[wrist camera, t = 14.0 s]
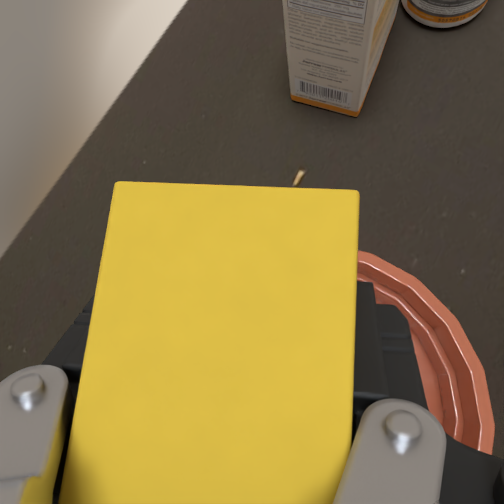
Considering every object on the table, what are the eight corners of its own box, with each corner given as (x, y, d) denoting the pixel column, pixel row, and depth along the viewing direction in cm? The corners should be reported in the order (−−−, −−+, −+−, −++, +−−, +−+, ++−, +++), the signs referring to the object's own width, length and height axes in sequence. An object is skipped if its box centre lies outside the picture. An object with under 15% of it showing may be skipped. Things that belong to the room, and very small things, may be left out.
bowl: (126, 383, 27) (85, 384, 22) (322, 217, 28) (324, 184, 23) (298, 631, 22) (294, 700, 18) (521, 424, 24) (575, 436, 19)
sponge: (181, 493, 14) (32, 629, 7) (206, 273, 16) (113, 178, 8) (324, 512, 14) (344, 686, 6) (334, 282, 15) (360, 188, 8)
